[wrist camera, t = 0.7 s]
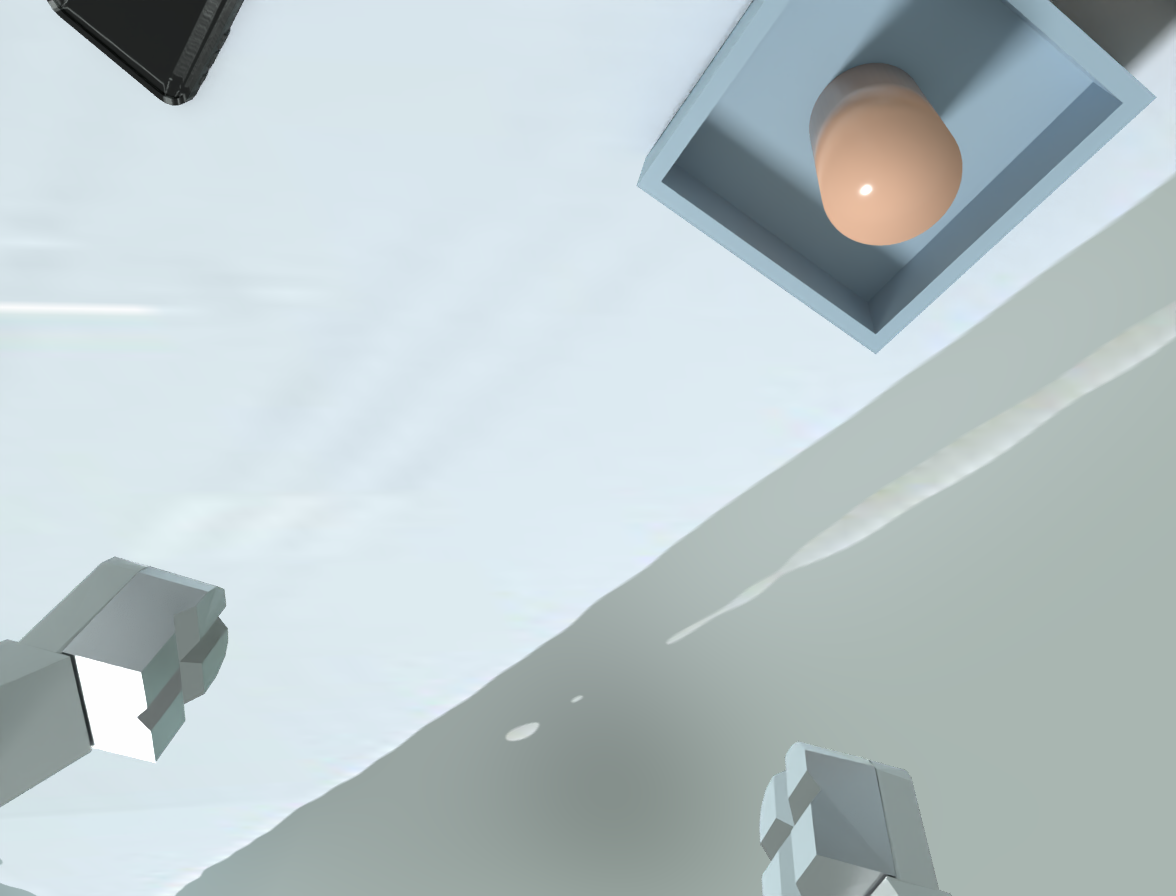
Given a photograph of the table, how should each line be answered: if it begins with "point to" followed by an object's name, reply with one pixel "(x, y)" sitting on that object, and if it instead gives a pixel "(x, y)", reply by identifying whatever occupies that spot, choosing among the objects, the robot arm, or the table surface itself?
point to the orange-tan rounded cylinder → (882, 156)
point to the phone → (156, 38)
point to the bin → (954, 89)
